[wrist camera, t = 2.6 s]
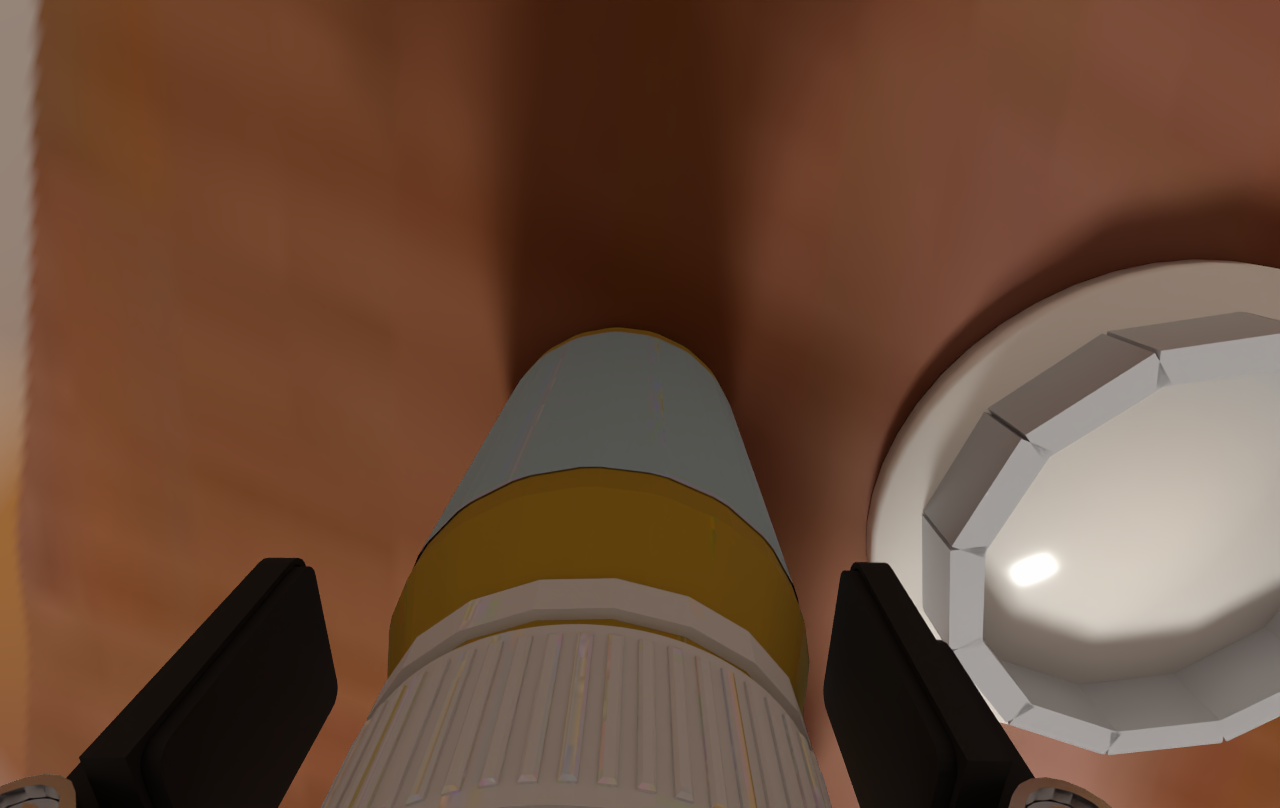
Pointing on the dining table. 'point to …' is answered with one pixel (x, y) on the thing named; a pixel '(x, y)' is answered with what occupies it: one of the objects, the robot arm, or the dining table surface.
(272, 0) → the dining table surface
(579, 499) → the bottle
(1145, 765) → the dining table surface
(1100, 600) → the collar base
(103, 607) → the dining table surface
